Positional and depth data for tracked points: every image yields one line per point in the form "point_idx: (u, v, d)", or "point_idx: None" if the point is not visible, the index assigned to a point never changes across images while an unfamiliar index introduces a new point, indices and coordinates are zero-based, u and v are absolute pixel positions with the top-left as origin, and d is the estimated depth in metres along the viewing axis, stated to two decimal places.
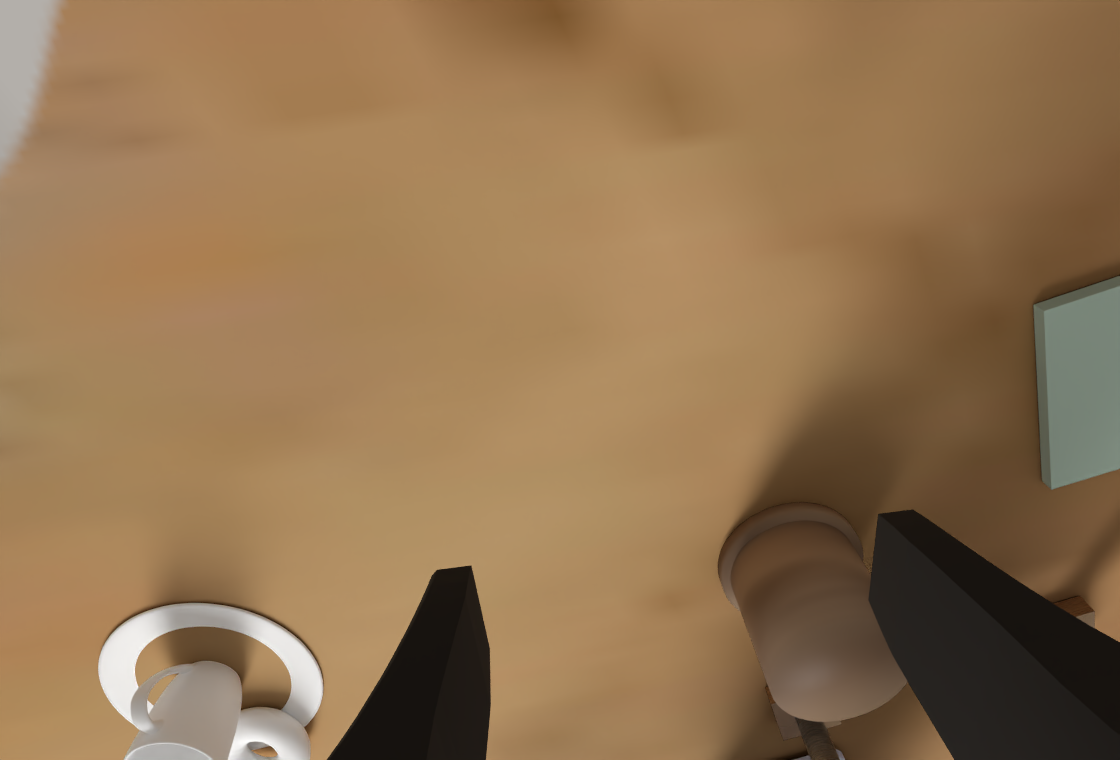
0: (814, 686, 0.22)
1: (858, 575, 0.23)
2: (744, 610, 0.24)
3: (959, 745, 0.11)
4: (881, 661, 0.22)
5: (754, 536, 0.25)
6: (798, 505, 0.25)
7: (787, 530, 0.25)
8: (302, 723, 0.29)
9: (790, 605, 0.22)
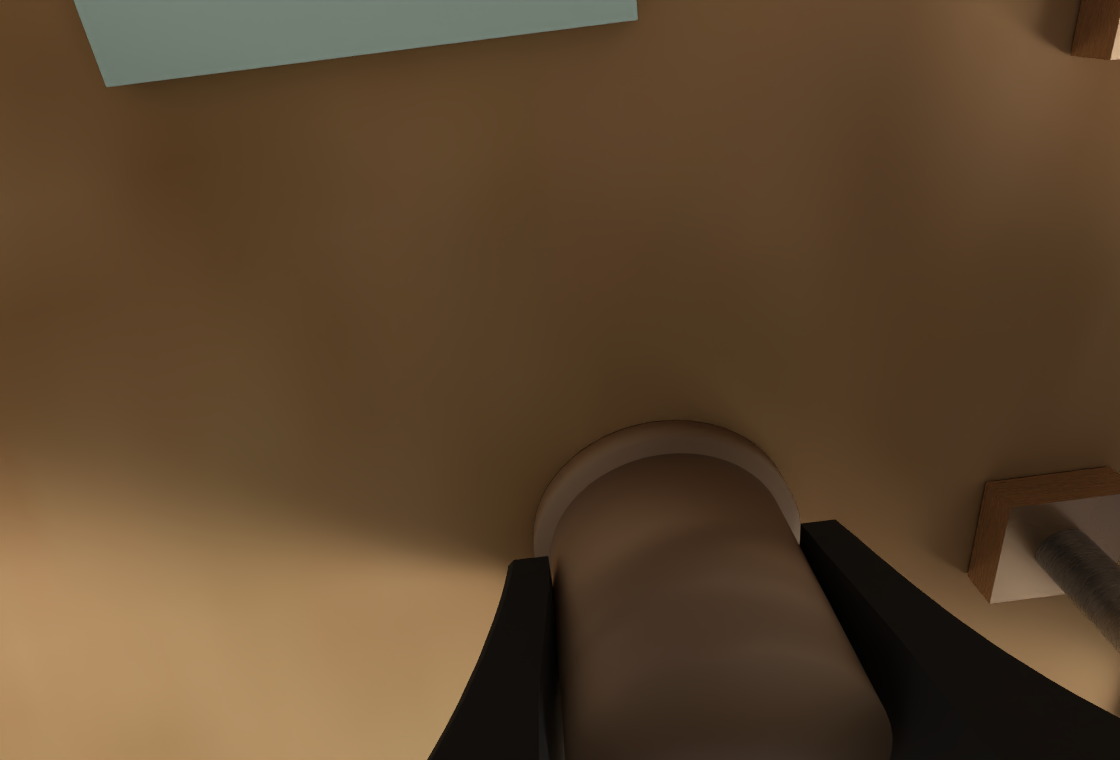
0: None
1: (590, 597, 0.11)
2: None
3: None
4: (730, 713, 0.09)
5: None
6: (536, 519, 0.14)
7: None
8: None
9: None
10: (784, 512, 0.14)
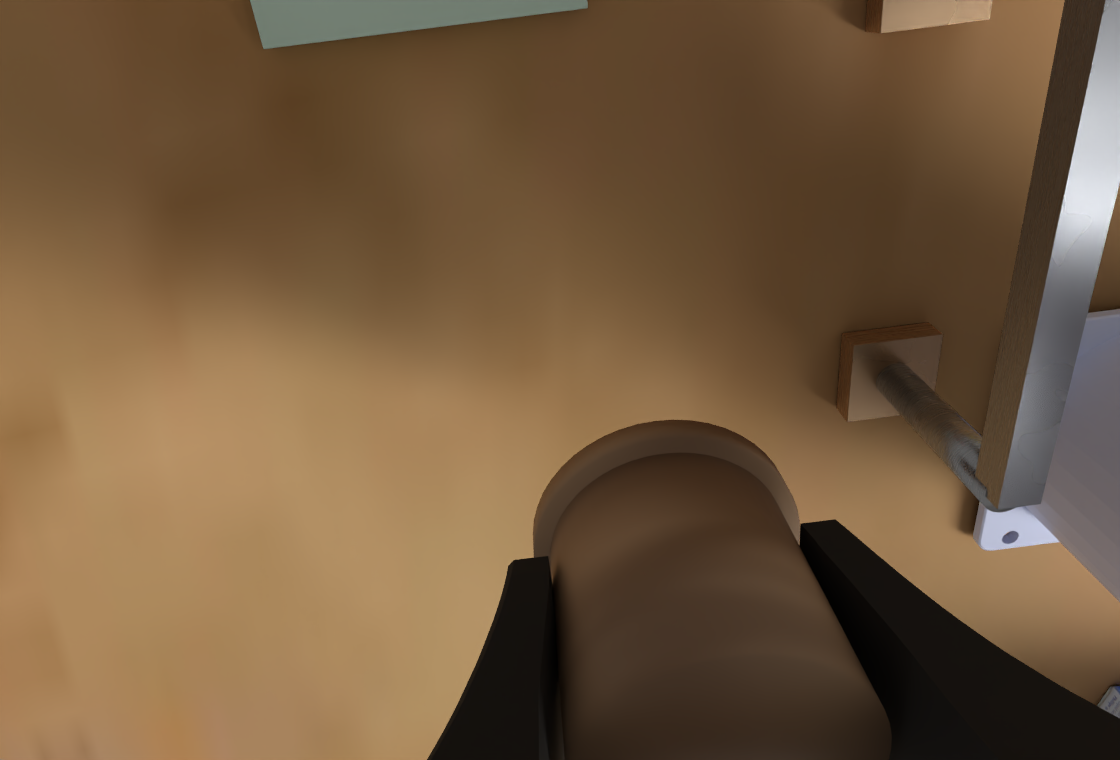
0: None
1: (590, 595, 0.11)
2: None
3: None
4: (729, 712, 0.09)
5: None
6: (535, 518, 0.14)
7: (551, 573, 0.13)
8: None
9: None
10: (783, 511, 0.14)
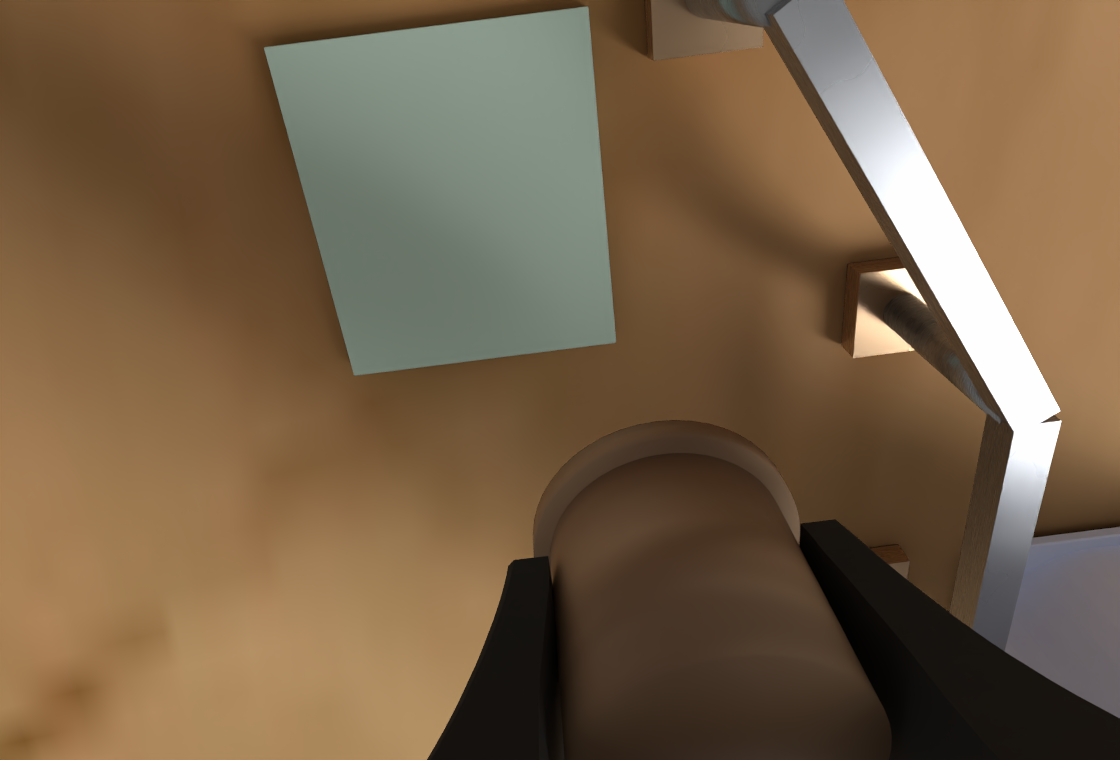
0: None
1: (590, 596, 0.11)
2: None
3: None
4: (729, 713, 0.09)
5: None
6: (535, 519, 0.14)
7: (551, 574, 0.13)
8: None
9: None
10: (783, 512, 0.14)
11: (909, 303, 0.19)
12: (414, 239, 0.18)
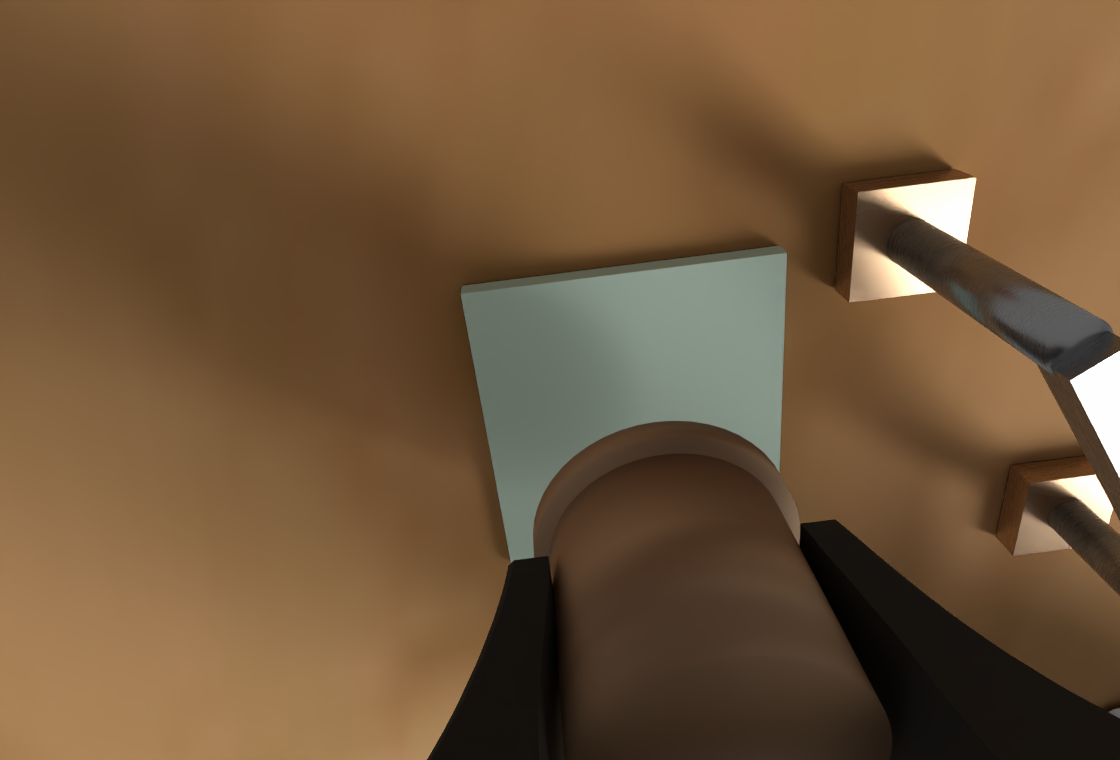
0: None
1: (590, 597, 0.11)
2: None
3: None
4: (730, 713, 0.09)
5: None
6: (536, 519, 0.14)
7: (551, 574, 0.13)
8: None
9: None
10: (784, 512, 0.14)
11: (1080, 514, 0.18)
12: None
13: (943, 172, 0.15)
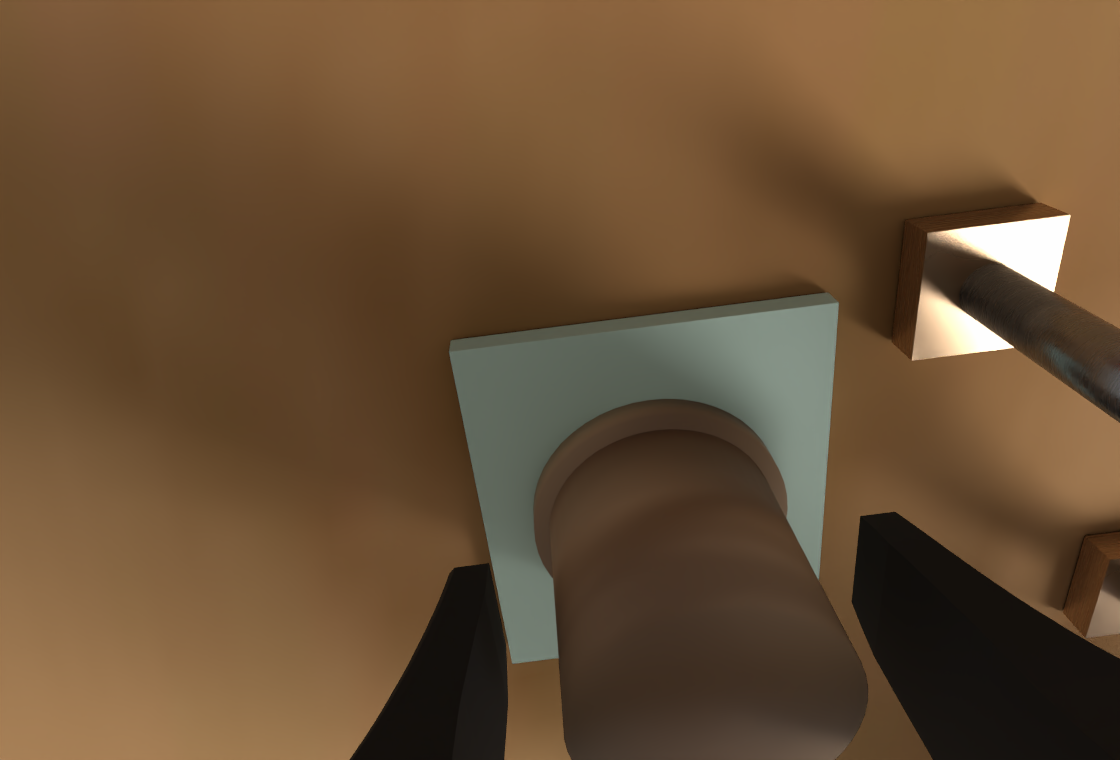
0: (732, 757, 0.11)
1: (586, 560, 0.12)
2: None
3: (939, 747, 0.11)
4: (716, 663, 0.10)
5: None
6: (536, 493, 0.14)
7: None
8: None
9: None
10: (772, 486, 0.14)
11: None
12: None
13: (1026, 206, 0.13)
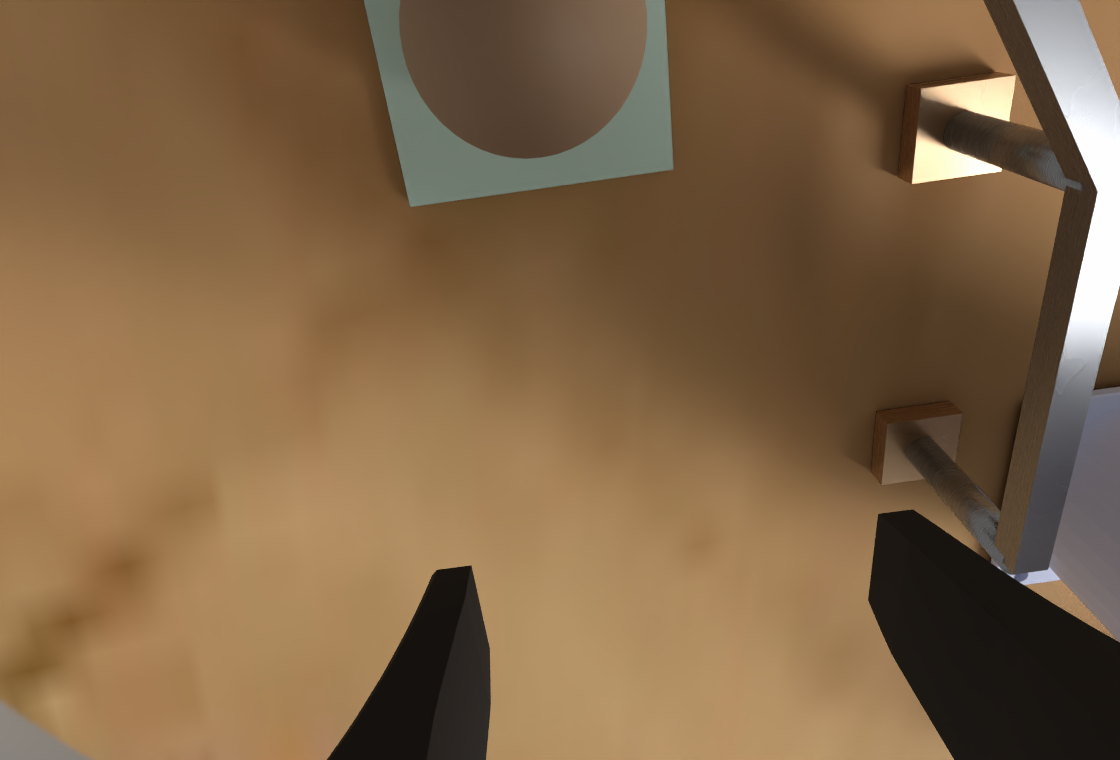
0: (545, 83, 0.14)
1: None
2: None
3: (959, 745, 0.11)
4: None
5: None
6: None
7: None
8: None
9: None
10: None
11: (971, 116, 0.18)
12: None
13: None
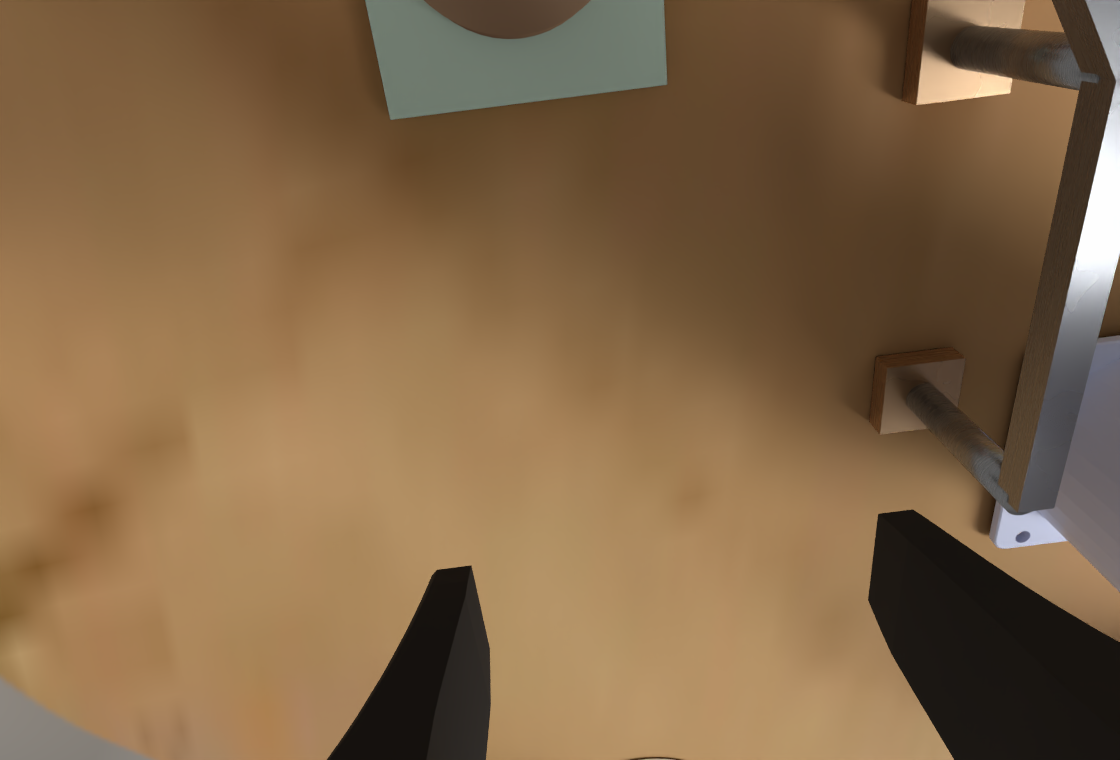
0: None
1: None
2: None
3: (959, 745, 0.11)
4: None
5: None
6: None
7: None
8: None
9: None
10: None
11: (980, 29, 0.18)
12: None
13: None
